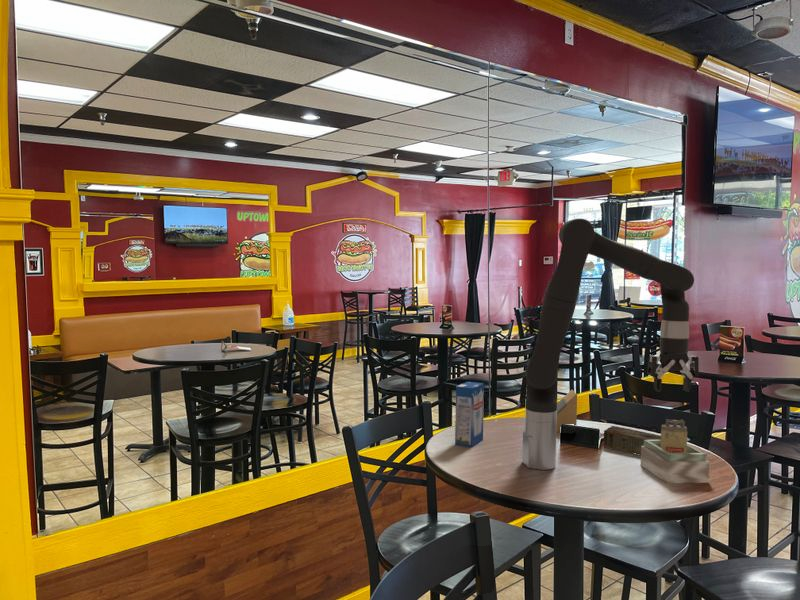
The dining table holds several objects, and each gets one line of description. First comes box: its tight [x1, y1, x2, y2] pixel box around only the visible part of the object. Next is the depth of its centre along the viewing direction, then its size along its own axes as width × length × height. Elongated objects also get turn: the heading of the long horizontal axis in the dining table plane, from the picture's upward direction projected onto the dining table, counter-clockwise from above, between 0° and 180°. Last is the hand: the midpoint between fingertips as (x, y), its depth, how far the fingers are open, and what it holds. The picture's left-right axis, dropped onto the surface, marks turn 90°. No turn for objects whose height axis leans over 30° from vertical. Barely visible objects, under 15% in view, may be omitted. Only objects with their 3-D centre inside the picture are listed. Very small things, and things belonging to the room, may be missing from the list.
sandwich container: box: [556, 389, 578, 433], centre depth 209 cm, size 9×15×15 cm, turn 85°
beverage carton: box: [603, 425, 661, 456], centre depth 185 cm, size 8×19×7 cm, turn 48°
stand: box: [640, 440, 710, 484], centre depth 164 cm, size 12×15×8 cm
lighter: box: [660, 418, 688, 453], centre depth 164 cm, size 7×4×10 cm, turn 79°
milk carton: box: [454, 381, 485, 448], centre depth 193 cm, size 10×6×20 cm, turn 150°
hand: (672, 391), depth 164 cm, fingers open, 8 cm apart
